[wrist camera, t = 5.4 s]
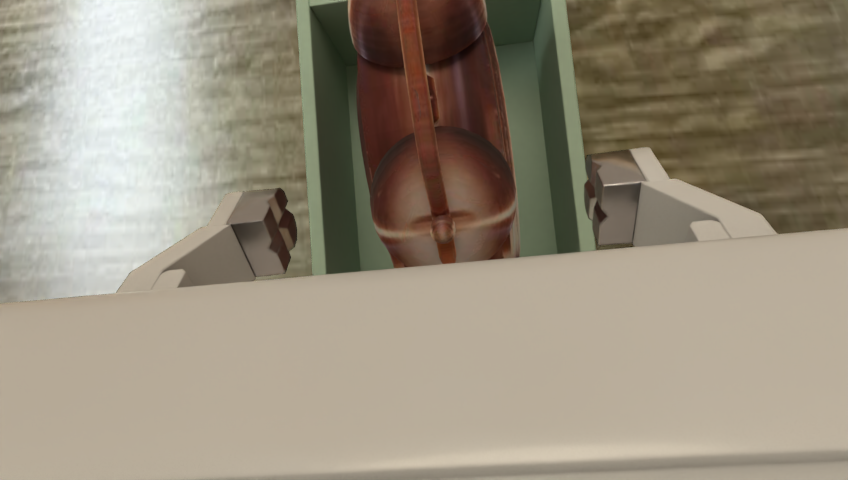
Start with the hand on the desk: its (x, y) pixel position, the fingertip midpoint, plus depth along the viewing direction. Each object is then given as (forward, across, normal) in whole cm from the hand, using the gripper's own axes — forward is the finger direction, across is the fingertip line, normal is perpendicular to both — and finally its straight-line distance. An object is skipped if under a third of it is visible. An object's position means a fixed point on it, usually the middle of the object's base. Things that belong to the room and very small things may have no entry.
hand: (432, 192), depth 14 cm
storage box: (+11, 0, +7) cm, 13 cm away
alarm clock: (+11, 0, +7) cm, 13 cm away
